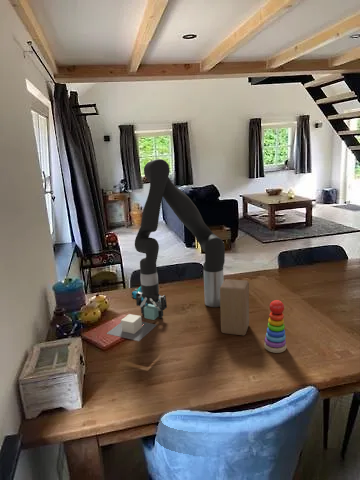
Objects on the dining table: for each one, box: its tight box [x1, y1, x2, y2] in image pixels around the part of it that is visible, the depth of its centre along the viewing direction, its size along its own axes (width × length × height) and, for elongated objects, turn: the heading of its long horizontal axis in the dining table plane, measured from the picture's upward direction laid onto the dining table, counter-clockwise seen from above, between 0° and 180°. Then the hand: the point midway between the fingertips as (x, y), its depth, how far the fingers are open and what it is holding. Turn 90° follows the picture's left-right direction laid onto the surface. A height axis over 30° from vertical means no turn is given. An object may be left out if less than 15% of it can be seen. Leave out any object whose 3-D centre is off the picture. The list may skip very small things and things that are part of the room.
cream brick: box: [120, 313, 143, 334], centre depth 151 cm, size 6×6×5 cm
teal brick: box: [143, 304, 159, 321], centre depth 162 cm, size 5×5×6 cm
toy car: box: [131, 285, 161, 306], centre depth 183 cm, size 11×18×7 cm, turn 32°
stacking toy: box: [263, 299, 287, 354], centre depth 132 cm, size 8×8×19 cm
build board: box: [106, 321, 158, 342], centre depth 152 cm, size 16×14×1 cm
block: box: [219, 278, 250, 336], centre depth 147 cm, size 10×10×20 cm
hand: (152, 316), depth 162 cm, fingers open, 8 cm apart
